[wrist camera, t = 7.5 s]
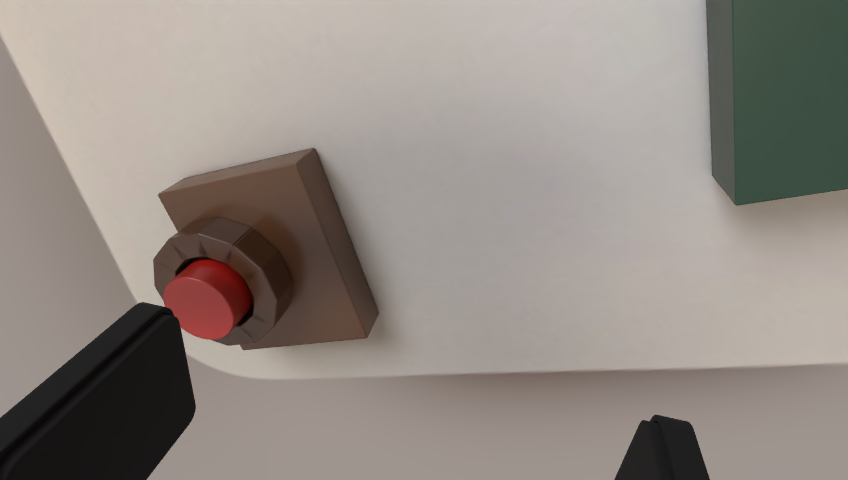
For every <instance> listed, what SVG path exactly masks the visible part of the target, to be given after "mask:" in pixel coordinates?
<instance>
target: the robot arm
mask: <svg viewBox="0 0 848 480" xmlns="http://www.w3.org/2000/svg"><path fill="white" fill-rule="evenodd" d="M195 409H196V405H195V400H194V395H193V389H192V384H191V379H190V374H189V369H188V364H187V358H186V353H185V348H184V343H183V338H182V333H181V328H180V323H179V320H178V318H177V317H175V316H174V314H173V311H172V310H171V309H170V308H167V307H162V306H158V305H153V304H149V303H144V302H142V303H138V304H137V305H135V306H134V307H132V308H131V309H130V310H129V311H128V312H126V314H124V315H123V316H122V317H121V318H119V319H118V320H117V321H116V322H115V323H113V324H112V325H111V326H110V327H109V328H108V329H106V330H105V331H104V332H103V333H101V334H100V335H99V336H98V337H97V338H95V339H94V340H93V341H92V342H91V343H89V344H88V345H87V346H86V347H85V348H84V349H82V350H81V351H80V352H79V353H77V354H76V355H75V356H74V357H73V358H71V359H70V360H69V361H68V362H67V363H66V364H64V365H63V366H62V367H61V368H59V369H58V370H57V371H56V372H55V373H53V374H52V375H51V376H50V377H49V378H48V379H46V380H45V381H44V382H43V383H41V384H40V385H39V386H38V387H37V388H36V389H34V390H33V391H32V392H31V393H30V394H28V395H27V396H26V397H25V398H24V399H22V400H21V401H20V402H19V403H18V404H16V405H15V406H14V407H13V408H12V409H10V410H9V411H8V412H7V413H6V414H4V415H3V416H2V417H1V418H0V480H146V479H147V478H148V477H149V475H150V474H151V473H152V472H153V470H154V469H155V468H156V466H157V465H158V464H159V463H160V461H161V460H162V459H163V457H164V456H165V455H166V453H167V452H168V451H169V450H170V448H171V447H172V446H173V444H174V443H175V442H176V440H177V439H178V438H179V437H180V435H181V434H182V433H183V431H184V430H185V429H186V428H187V426H188V425H189V423H190V422H191V421H192V418H193V416H194V413H195ZM615 480H710V479H709V476H708V473H707V470H706V466H705V464H704V460H703V458H702V454H701V451H700V448H699V445H698V442H697V439H696V435H695V432H694V429H693V427H692V425H691V424H690V423H689V422H687V421H682V420H678V419H673V418H668V417H664V416H660V415H654V416H653V417H652V419H651V420H650V422H649V421H645V420H642V421H641V423H640V424H639V426H638V429H637V431H636V433H635V435H634V438H633V440H632V442H631V444H630V446H629V449H628V451H627V453H626V455H625V457H624V460H623V462H622V464H621V467H620V468H619V471H618V473H617V475H616V477H615Z"/></svg>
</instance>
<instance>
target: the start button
mask: <svg viewBox="0 0 848 480" xmlns="http://www.w3.org/2000/svg"><path fill="white" fill-rule="evenodd" d="M163 299H164V304H165V307H167V308H170V309H171V310H172V311H173V314H174V316H175V317H177V318H178V320H179V323H180V327H181V328H182V329H184V330H185V331H187V332H188V333H190V334H192V335H194V336H197V337H199V338H203V339H211V340H212V339H220V338H223V337H225V336H226V335H228V334H229V333H230V332H231V330H232V329H233V328H234V327H235V326H236V325H237V323H238V322H239V321H240V320H241V319H242V317H243V316H244V315H245V314H246V313H247V312H248V310H249V308H250V306H251V301H252V297H251V292H250V289H249V287H248V285H247V283H246V281H245V279H244V278H243V277H242V276H241V275H240V274H239V273H237V272H236V271H235V270H234V269H233V268H231V267H230V266H229V265H228V264H226V263H224V262H221V261H218V260H214V259H200V260H197V261H194V262H193V263H191V264H190V265H189V266H188V267H187V268H185V269H184V270H183V271H182V272H181V273H180V274H178V275H177V276H176V277H175V278H174V279H173V280H171V281H170V282H169V283H168V284H167V286H166V288H165V290H164V294H163Z"/></svg>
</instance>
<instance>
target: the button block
mask: <svg viewBox="0 0 848 480" xmlns="http://www.w3.org/2000/svg"><path fill="white" fill-rule="evenodd" d="M158 196H159V198H160V200H161V202H162V204H163V205H164V207H165V209H166V211H167V213H168V215H169V216H170V218H171V220H172V222H173V224H174V225H175V227H176V229H177V231H178V233H176V234H175V235H174V236H172V237H171V238H170V239H168V241H167V242H166V243H165V245H164V246H163V247H162V248H161V250H160V251H159V252H158V254H157V255H156V256H155V258H154V260H153V262H154V280H155V287H156V289H157V291H158V292H159V294H160V296H161V297H162V299H163V294H164V290H165V288H166V286H167V284H168V283H169V282H170V281H171V280H173V279H174V278H175V277H176V276H177V275H178V274H180V273H181V272H182V271H183V270H184V269H185V268H187V267H188V266H189V265H190V264H191V263H193V262H194V261H197V260H200V259H214V260H218V261H221V262H224V263H226V264H228V265H229V266H230V267H231V268H233V269H234V270H235V271H236V272H237V273H239V274H240V275H241V276H242V277H243V278H244V279H245V281H246V283H247V285H248V287H249V289H250V292H251V297H252V301H251V306H250V308H249V310H248V312H247V313H246V314H245V315H244V316H243V317H242V319H241V320H240V321H239V322H238V323H237V325H236V326H235V327H234V328H233V329H232V330H231V332H230V333H229V334H228V335H226V336H225V337H223V338H220V339H212V340H213V341H216V342H219V343H222V344H225V345H228V346H229V345H239V344H240V346H241V347H242V349H243V350H250V349H260V348H271V347H281V346H291V345H302V344H312V343H322V342H333V341H343V340H353V339H363V338H368V336H369V334H370V331H371V329H372V327H373V325H374V323H375V321H376V319H377V316H378V314H379V313H378V310H377V308H376V305H375V303H374V300H373V297H372V295H371V292H370V290H369V287H368V285H367V282H366V279H365V277H364V274H363V272H362V269H361V266H360V264H359V261H358V259H357V256H356V254H355V251H354V248H353V246H352V243H351V241H350V238H349V235H348V233H347V230H346V228H345V225H344V223H343V220H342V217H341V215H340V212H339V210H338V207H337V204H336V202H335V199H334V197H333V194H332V192H331V189H330V186H329V184H328V181H327V179H326V176H325V174H324V171H323V168H322V166H321V163H320V161H319V158H318V155H317V153H316V150H315V148H311V149H307V150H302V151H298V152H294V153H290V154H285V155H281V156H277V157H273V158H268V159H264V160H260V161H256V162H251V163H247V164H243V165H239V166H234V167H230V168H226V169H222V170H217V171H213V172H209V173H205V174H200V175H196V176H192V177H188V178H184V179H182V180H181V181H179V182H177V183H176V184H174V185H172V186H171V187H169V188H167V189H166V190H164V191H162V192H161V193H159V194H158ZM163 301H164V299H163ZM210 340H211V339H210Z"/></svg>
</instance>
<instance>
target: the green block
mask: <svg viewBox="0 0 848 480" xmlns="http://www.w3.org/2000/svg"><path fill="white" fill-rule="evenodd" d="M706 8H707V36H708V64H709V93H710V121H711V150H712V176H713V177H714V178H715V180H716V181H717V182H718V184H719V185H720V186H721V187H722V189H723V190H724V191H725V192H726V194H727V195H728V196H729V198H730V199H731V200H732V201H733V203H734V204H735V205H743V204H750V203H757V202H763V201H770V200H777V199H783V198H790V197H797V196H803V195H810V194H817V193H824V192H830V191H837V190H844V189H848V0H706Z"/></svg>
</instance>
